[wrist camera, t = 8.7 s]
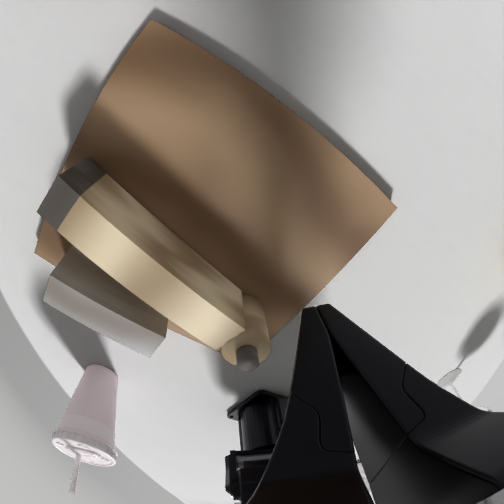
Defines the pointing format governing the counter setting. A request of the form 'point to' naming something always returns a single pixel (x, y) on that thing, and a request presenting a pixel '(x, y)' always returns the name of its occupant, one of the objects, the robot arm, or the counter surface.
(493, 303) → the counter surface
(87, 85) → the counter surface
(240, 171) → the seat
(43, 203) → the leg
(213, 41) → the counter surface
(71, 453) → the smoothie
